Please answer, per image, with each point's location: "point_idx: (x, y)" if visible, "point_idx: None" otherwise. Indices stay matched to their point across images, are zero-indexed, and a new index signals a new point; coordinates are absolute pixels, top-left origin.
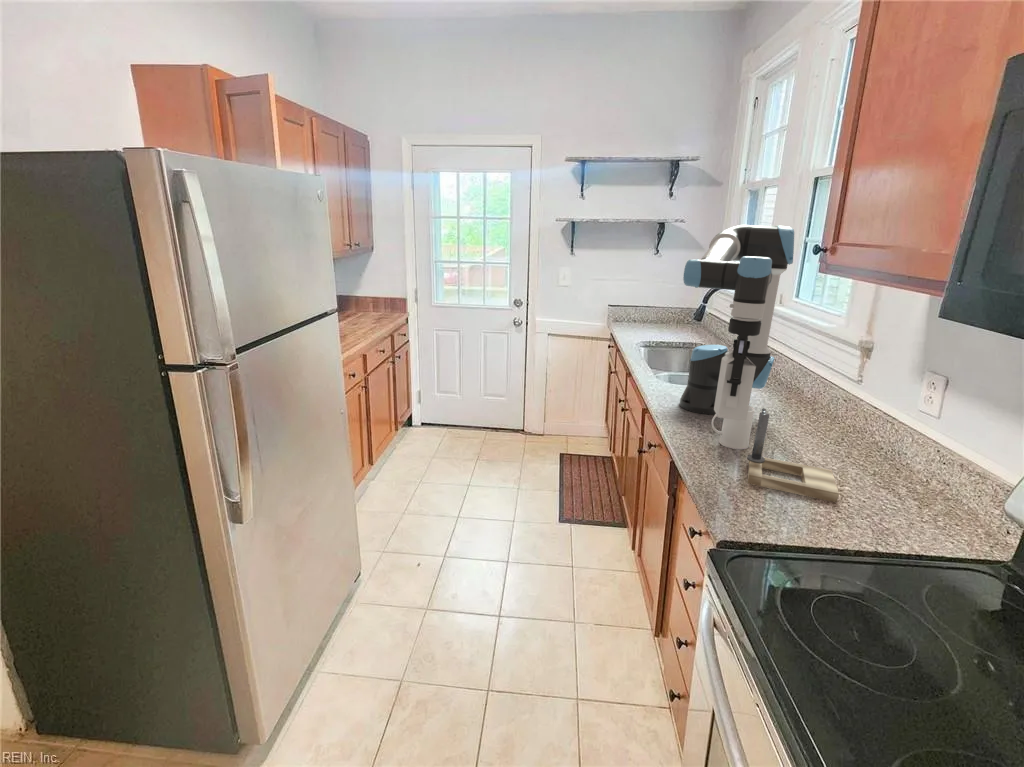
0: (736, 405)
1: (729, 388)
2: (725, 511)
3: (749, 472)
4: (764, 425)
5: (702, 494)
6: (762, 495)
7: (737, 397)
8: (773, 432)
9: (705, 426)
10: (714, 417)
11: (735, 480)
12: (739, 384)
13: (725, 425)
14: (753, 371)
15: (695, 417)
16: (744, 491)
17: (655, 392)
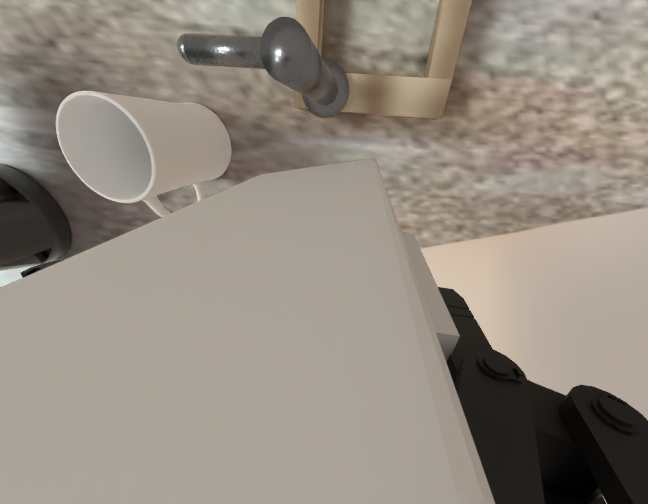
0: (415, 242)
1: None
2: (599, 181)
3: (424, 116)
4: (320, 57)
5: (515, 225)
6: (500, 81)
7: (425, 268)
8: (31, 12)
9: (134, 208)
10: None
11: (423, 150)
12: (500, 357)
13: (188, 183)
14: (447, 376)
15: (97, 227)
16: (483, 130)
17: None
